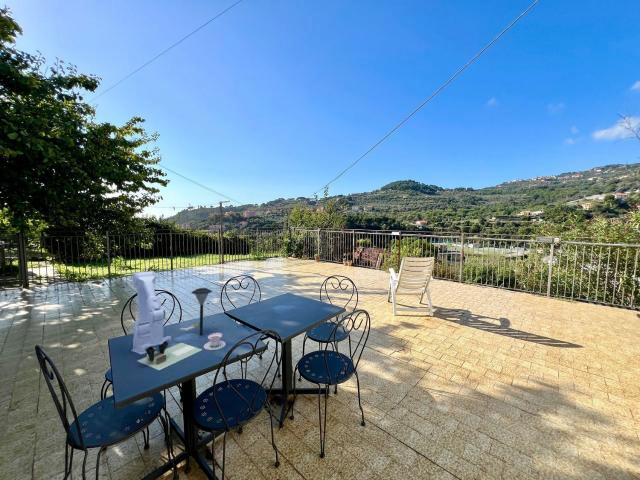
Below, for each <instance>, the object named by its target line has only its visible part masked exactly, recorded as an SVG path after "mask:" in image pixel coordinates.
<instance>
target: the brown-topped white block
mask: <svg viewBox="0 0 640 480" xmlns="http://www.w3.org/2000/svg"><path fill="white" fill-rule="evenodd" d="M146 357H147V361H150V359H149V356H148V354H147V353H146ZM165 361H166V355H164V354H162V353H159V351H156V350H155V352H154V361H150V362H152V363H155V364H157V365H158V364H160V363H163V362H165Z"/></svg>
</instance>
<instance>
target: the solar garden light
mask: <svg viewBox="0 0 640 480" xmlns="http://www.w3.org/2000/svg"><path fill="white" fill-rule="evenodd" d="M212 292H213V291H212V290H211V289H210V288H209V289H208V288H207V287H198V288H196V289H194V290H193V291H191V294H193V295H195V297H196V299H197V301H198V303H199V307H200V308H199V323H200V326H199V336H200V337H202V336H203V334H204V333H203V331H204V329H203V327H204V304H205V302H206V300H207V297H208V295H209V294H210V293H212Z"/></svg>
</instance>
